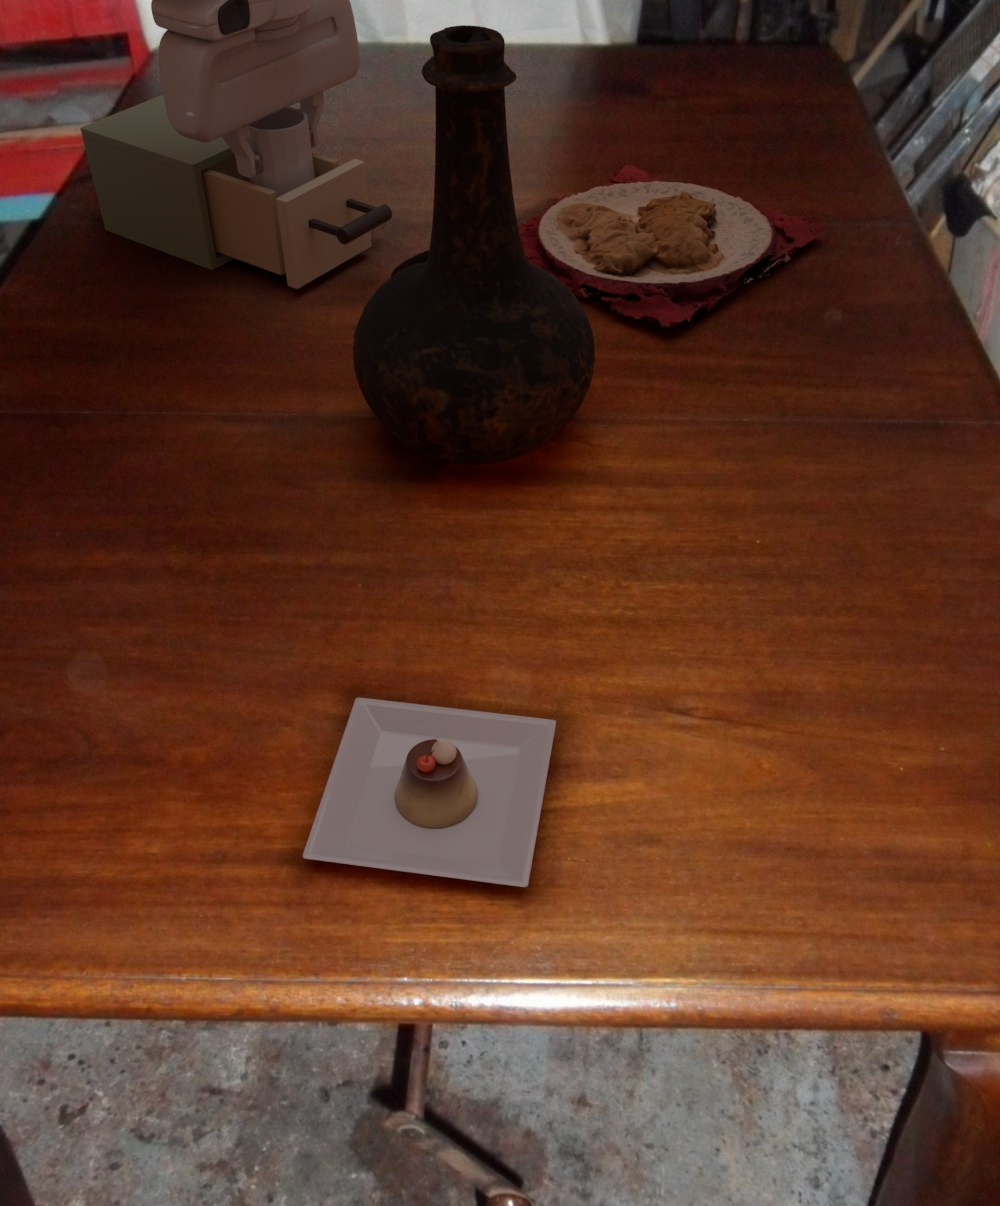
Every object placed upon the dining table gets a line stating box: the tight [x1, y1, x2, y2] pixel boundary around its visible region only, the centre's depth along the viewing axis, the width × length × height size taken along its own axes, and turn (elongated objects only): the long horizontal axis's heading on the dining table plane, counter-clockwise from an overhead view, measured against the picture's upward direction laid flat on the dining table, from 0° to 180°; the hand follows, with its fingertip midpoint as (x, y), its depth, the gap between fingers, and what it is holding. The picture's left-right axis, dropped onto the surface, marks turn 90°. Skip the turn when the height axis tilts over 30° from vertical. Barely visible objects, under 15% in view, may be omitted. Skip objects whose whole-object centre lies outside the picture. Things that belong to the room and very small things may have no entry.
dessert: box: [302, 697, 557, 888], centre depth 65 cm, size 12×12×5 cm
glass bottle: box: [352, 25, 596, 466], centre depth 82 cm, size 18×18×28 cm
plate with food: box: [518, 165, 827, 328], centre depth 112 cm, size 24×26×3 cm
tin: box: [245, 106, 315, 198], centre depth 104 cm, size 6×6×6 cm
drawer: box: [201, 151, 393, 290], centre depth 108 cm, size 18×10×8 cm, turn 55°
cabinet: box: [80, 94, 236, 271], centre depth 113 cm, size 15×12×10 cm
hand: (279, 160), depth 105 cm, fingers closed on tin, 6 cm apart
